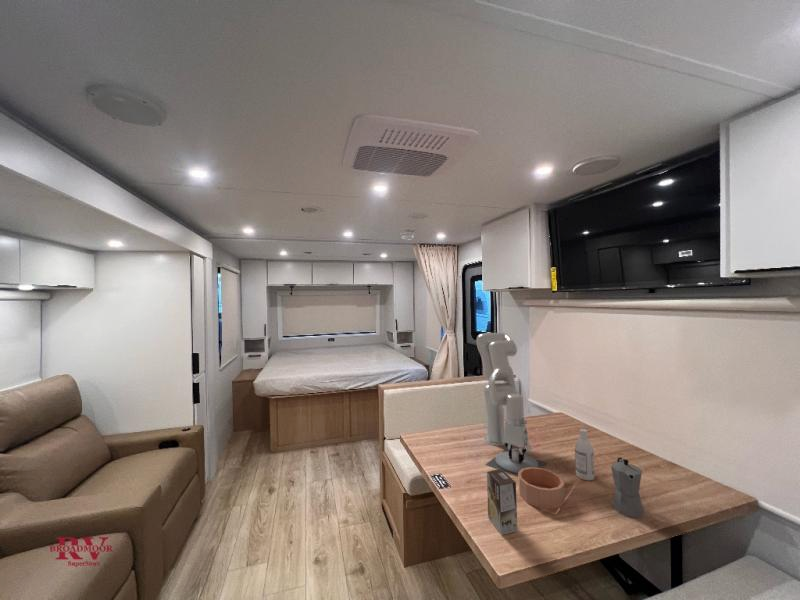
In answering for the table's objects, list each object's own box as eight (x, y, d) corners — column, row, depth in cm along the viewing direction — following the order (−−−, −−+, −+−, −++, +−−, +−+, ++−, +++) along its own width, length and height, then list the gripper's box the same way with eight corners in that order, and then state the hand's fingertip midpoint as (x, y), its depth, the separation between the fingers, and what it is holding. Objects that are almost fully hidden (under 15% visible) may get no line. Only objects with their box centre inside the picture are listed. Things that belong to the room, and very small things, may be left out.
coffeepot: (651, 525, 103) (648, 471, 103) (617, 518, 106) (615, 466, 107) (634, 498, 117) (633, 451, 118) (606, 493, 121) (604, 447, 121)
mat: (505, 450, 158) (505, 449, 158) (547, 463, 144) (547, 463, 144) (485, 465, 143) (485, 464, 143) (530, 482, 129) (530, 481, 129)
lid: (505, 450, 157) (505, 438, 157) (544, 462, 144) (544, 449, 144) (488, 464, 144) (487, 450, 144) (529, 479, 130) (528, 464, 131)
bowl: (528, 479, 131) (527, 463, 131) (569, 495, 120) (568, 477, 120) (512, 496, 119) (511, 478, 120) (556, 515, 108) (555, 495, 109)
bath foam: (588, 472, 136) (586, 427, 137) (598, 481, 129) (596, 433, 130) (572, 472, 136) (571, 427, 137) (581, 481, 129) (580, 433, 130)
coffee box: (518, 531, 101) (517, 482, 101) (501, 535, 99) (499, 485, 100) (503, 513, 110) (501, 468, 110) (486, 516, 108) (485, 471, 109)
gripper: (536, 423, 141) (537, 463, 141) (502, 414, 153) (503, 451, 152) (530, 427, 136) (531, 469, 135) (495, 418, 147) (495, 456, 147)
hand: (516, 459), depth 144 cm, fingers closed on lid, 4 cm apart
